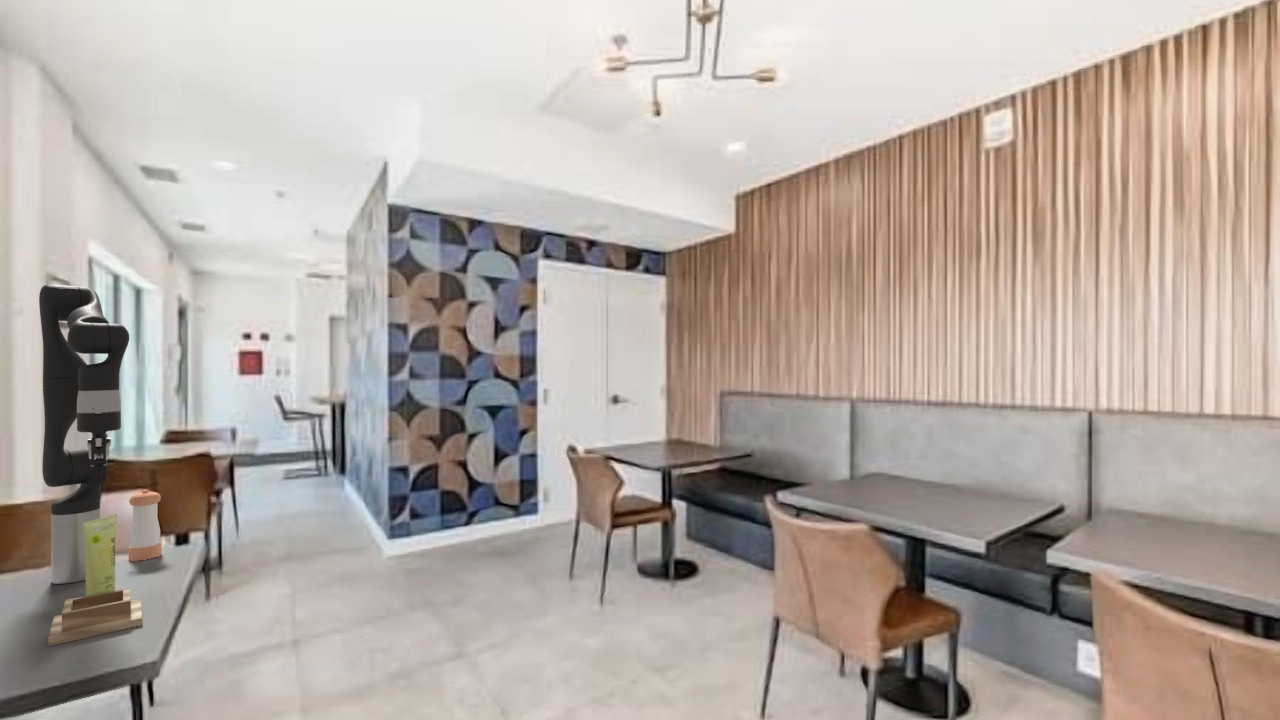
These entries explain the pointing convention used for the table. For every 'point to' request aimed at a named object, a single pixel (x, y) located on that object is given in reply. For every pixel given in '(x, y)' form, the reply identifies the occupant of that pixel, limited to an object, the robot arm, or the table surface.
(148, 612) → the table surface
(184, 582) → the table surface
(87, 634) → the socket block
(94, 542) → the tube
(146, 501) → the pepper shaker
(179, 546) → the table surface
